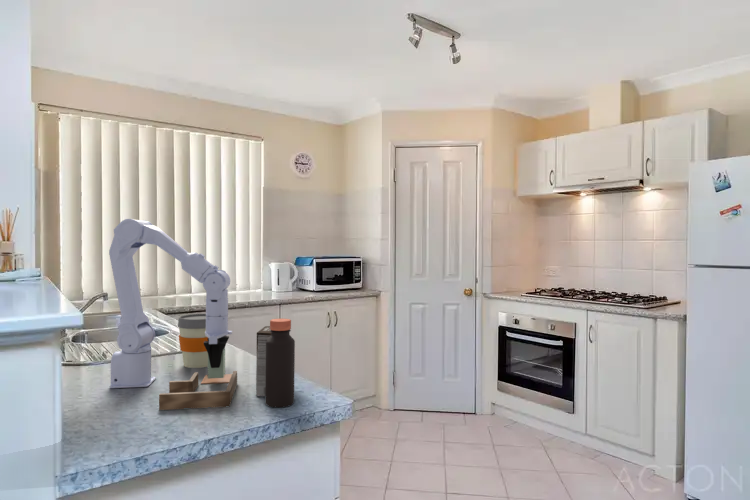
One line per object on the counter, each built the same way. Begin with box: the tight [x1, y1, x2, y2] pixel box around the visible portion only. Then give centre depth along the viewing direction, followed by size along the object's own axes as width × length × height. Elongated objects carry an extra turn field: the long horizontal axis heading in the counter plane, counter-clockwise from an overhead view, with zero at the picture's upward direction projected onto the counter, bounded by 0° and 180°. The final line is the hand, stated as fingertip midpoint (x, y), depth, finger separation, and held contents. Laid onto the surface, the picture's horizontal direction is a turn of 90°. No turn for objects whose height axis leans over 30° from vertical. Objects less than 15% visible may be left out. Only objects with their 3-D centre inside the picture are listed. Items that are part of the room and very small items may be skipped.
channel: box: [158, 370, 238, 411], centre depth 121 cm, size 16×18×4 cm
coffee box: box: [255, 325, 271, 397], centre depth 125 cm, size 9×6×16 cm
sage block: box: [207, 348, 226, 378], centre depth 132 cm, size 4×4×7 cm
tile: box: [200, 373, 232, 385], centre depth 135 cm, size 8×8×1 cm
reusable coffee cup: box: [177, 313, 208, 369], centre depth 152 cm, size 13×13×15 cm
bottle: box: [264, 318, 296, 409], centre depth 116 cm, size 7×7×20 cm
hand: (216, 365), depth 132 cm, fingers closed on sage block, 4 cm apart
